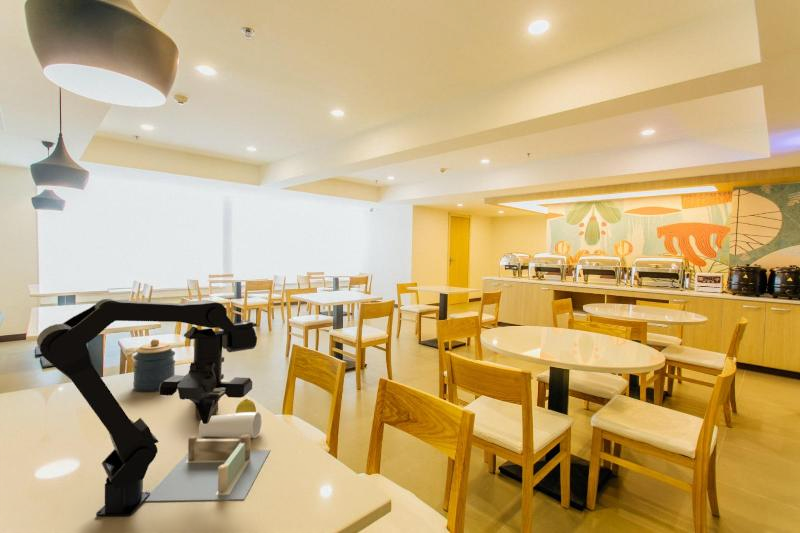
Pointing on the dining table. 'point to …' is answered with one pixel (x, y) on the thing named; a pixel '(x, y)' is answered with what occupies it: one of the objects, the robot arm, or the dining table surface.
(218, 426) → the white tumbler
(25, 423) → the dining table surface
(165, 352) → the canister
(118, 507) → the robot arm
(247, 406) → the lemon
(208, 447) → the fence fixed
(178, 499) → the card
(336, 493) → the dining table surface
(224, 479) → the fence panel
